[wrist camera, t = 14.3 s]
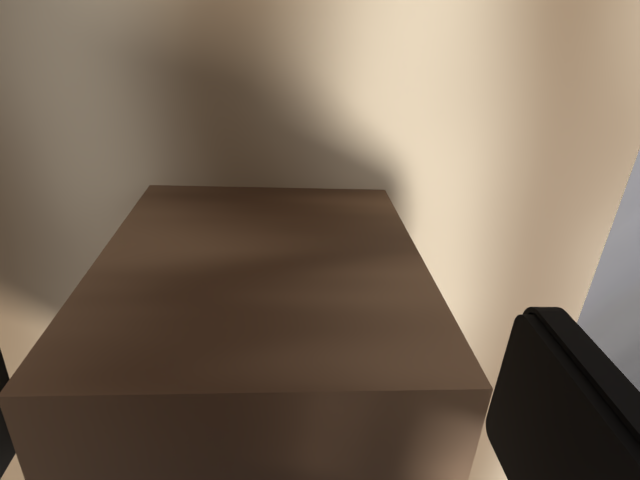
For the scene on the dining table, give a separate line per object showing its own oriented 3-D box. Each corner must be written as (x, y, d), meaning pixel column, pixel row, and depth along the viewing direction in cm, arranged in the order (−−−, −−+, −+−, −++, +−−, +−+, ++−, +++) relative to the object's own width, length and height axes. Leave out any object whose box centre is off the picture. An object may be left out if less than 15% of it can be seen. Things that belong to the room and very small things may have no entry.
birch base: (594, -64, 12) (725, -91, 8) (470, 406, 19) (513, 498, 16) (-85, -118, 11) (-270, -178, 7) (53, 410, 18) (-5, 514, 14)
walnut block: (385, 190, 10) (492, 388, 5) (364, 367, 13) (424, 637, 7) (150, 185, 10) (-4, 397, 5) (171, 370, 12) (84, 657, 7)
